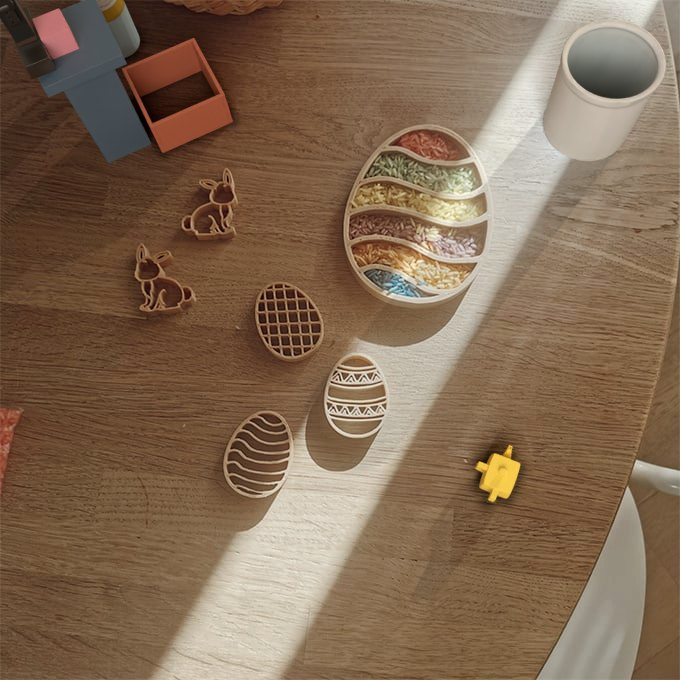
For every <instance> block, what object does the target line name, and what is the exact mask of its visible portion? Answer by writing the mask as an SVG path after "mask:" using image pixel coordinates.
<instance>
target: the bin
mask: <svg viewBox="0 0 680 680" xmlns="http://www.w3.org/2000/svg"><path fill="white" fill-rule="evenodd" d="M121 71H122V73H123V75H124V77H125V79H126V81H127V83H128V86H129V88H130V90H131V91H132V94H133V95H134V96H133V97H134V98H135V100H136V102H137V104H138V106H139V108H140V110H141V112H142V115H143V116H144V118H145V120H146V122H147V124H148V126H149V128H150V131H151V133H152V134H153V137H154V139H155V141H156V143H157V145H158V147H159V149H160V151H161V153H162V154H165V153H166V152H169V151H171V150H173V149H175V148H177V147H180V146H182V145H185V144H187V143H188V142H191V141H193V140H196V139H198V138H201V137H202V136H205V135H208V134H209V133H211V132H214V131H216V130H218V129H221V128H223V127H224V126H225V127H226V126H228V125H230V124H231V123H232V124H233V122H234V120H233V117H232V114H231V110H230V107H229V103H228V101H227V98H226V94H225V93H224V91H223V88H222V86H221V85H220V83H219V82H218V79H217V78H216V76H215V74H214V72H213V71H212V68H211V66H210V65H209V62H208V61H207V60H206V57H205V56H204V54H203V52H202V50H201V48H200V46H199V45H198V43H197V41H196V39H195V38H194V37H192V38H190V39H188V40H185V41H183V42H181V43H178V44H176V45H173V46H171V47H169V48H167V49H164V50H162V51H159V52H158V53H154V54H153V55H150V56H148V57H146V58H143V59H141V60H138V61H136V62H134V63H131V64H129V65H127V66H125V67H121ZM199 72H202V74H203V75H204V77H205V80H206V81H207V83H208V85H209V87H210V88H211V90H212V93H213V95H214V96H212V97H209V98H206V99H205V100H202V101H199V102H198V103H196V104H193V105H191V106H189V107H187V108H184V109H182V110H180V111H178V112H175V113H173V114H171V115H168V116H166V117H164V118H161V119H159V120H157V121H154V122H153V121H152V119H151V117H150V116H149V114H148V112H147V110H146V108H145V106H144V103H143V101H142V99H141V98H142V97H144V96H146V95H148V94H151V93H153V92H156V91H158V90H160V89H163V88H165V87H167V86H169V85H172V84H175V83H177V82H178V81H182V80H183V79H185V78H186V79H187V78H188V77H190V76H193V75H194V74H197V73H199Z"/></svg>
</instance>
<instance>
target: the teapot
mask: <svg viewBox="0 0 680 680" xmlns="http://www.w3.org/2000/svg"><path fill="white" fill-rule="evenodd" d="M513 447H514V446H512V445H510V444H509V445H508V446H507V448H506V449H505V451H504V452H503V454H502V455H501V454H498V453H495V452H494V453H492V454H491V455H490V456H489V458H488V460H487V461H486V463H485V462H482V461H478V462H477V463H476V464H475V467H474V469H475V470H477V471H478V472H480V473H482V474H481V478H480V480H479V485H478V487H479V489H481V490H483V491H486V492H488V493H489V495H488V497H487V501H489V502H491V503H495V501H496V500H497V497H500V498H502V499H508V498H509V497H510V495H511V493H512V491H513V489H514V487H515V484H516V482H517V478H518V475H519V471H520V468H521V462H519V461H517V460H513V459H512V453H513Z"/></svg>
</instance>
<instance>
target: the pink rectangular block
mask: <svg viewBox="0 0 680 680" xmlns="http://www.w3.org/2000/svg"><path fill="white" fill-rule="evenodd" d="M60 10H61V9H60V8H56V9H53V10H51V11H49V12H46V13H43V14H41V15H38V16H35V17H33V18H34V19H32V20H33V23H34V25H35V27H36V30H37V32H38V34H39V37H40V39H41V41H42V42H43V44H44V46H45V47H46V49H47V51H48V52H49V54H50V56H51V57H52V59H56V58H58V57H61V56H63V55H65V54H68V53H70V52H73V51H75V50H78V49H79V47H78V45H77V43H76V40H75V38H74V36H73V34H72V32H71V29H70V28H69V26H68V24H67V22H66V20H65V18H64V16H63V15H62V13H61V11H60Z"/></svg>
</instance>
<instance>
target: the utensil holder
mask: <svg viewBox="0 0 680 680" xmlns="http://www.w3.org/2000/svg"><path fill="white" fill-rule="evenodd" d="M666 60H667V59H666V55H665V52H664V49H663V47H662V45H661V44H660V42H659V41H658V40H657V38H656V37H655V35H653V34H652V33H650V32H649V31H648V30H647V29H645V28H644V27H642V26H639V24H636V23H633V22H630V21H627V20H623V19H614V18H613V19H612V18H611V19H599V20H595V21H592V22H589V23H586V24H585V25H582V26H581V27H579V28H577V29H576V30H575V31H573V32H572V34H571V35H570V36H569V37H568V38H567V39H566V41H565V43H564V45H563V47H562V51H561V55H560V59H559V65H558V69H557V72H556V75H555V78H554V81H553V85H552V87H551V91H550V94H549V97H548V100H547V104H546V107H545V112H544V115H543V120H542V128H543V133H544V136H545V138H546V140H547V141H548V143H549V145H551V147H552V148H553V149H554V150H556V151H557V152H558V153H560V154H561V155H562V156H565V157H567V158H570V159H573V160H576V161H580V162H595V161H601V160H603V159H606V158H608V157H610V156H612V155H613V154H615V153H616V152H618V151H619V149H620V148H621V147H622V145H623V144H624V143H625V141H626V139H627V137H628V136H629V135H630V133H631V131H632V130H633V128H634V126H635V125H636V123H637V121H638V120H639V118H640V116H641V114H642V113H643V111H644V109H645V107H646V106H647V104H648V102H649V100H650V98H651V97H652V95H654V93H655V92H656V91H657V89H658V88H659V87H660V85H661V83H662V81H663V79H664V77H665V74H666V70H667V61H666Z"/></svg>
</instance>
